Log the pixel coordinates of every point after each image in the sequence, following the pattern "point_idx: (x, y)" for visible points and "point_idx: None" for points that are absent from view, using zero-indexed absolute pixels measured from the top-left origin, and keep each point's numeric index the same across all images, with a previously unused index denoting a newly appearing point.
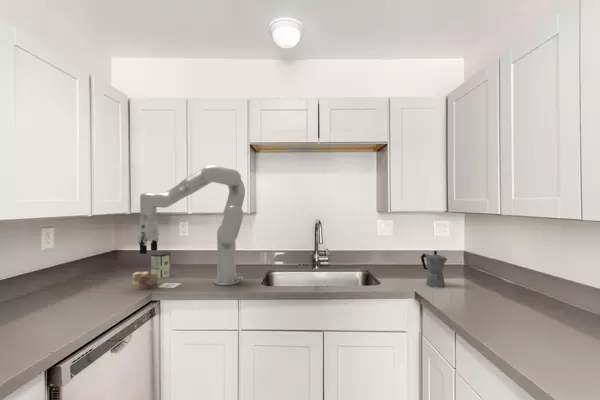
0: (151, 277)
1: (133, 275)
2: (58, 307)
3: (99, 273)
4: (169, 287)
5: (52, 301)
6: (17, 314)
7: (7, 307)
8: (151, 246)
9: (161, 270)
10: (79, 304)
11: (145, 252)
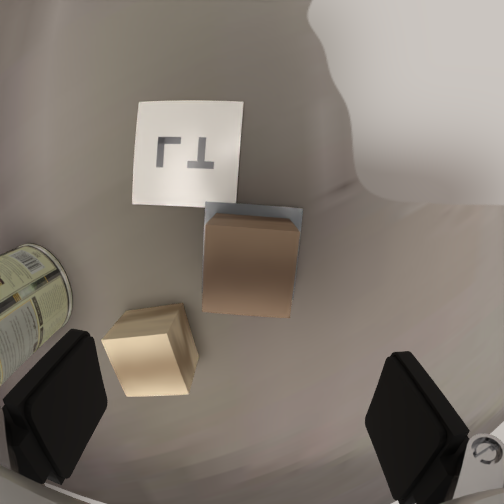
0: (289, 230)
1: (187, 385)
2: (463, 405)
3: (79, 486)
4: (237, 127)
5: None
6: (480, 433)
7: None
8: (84, 436)
9: (35, 285)
10: (455, 378)
11: (410, 365)
